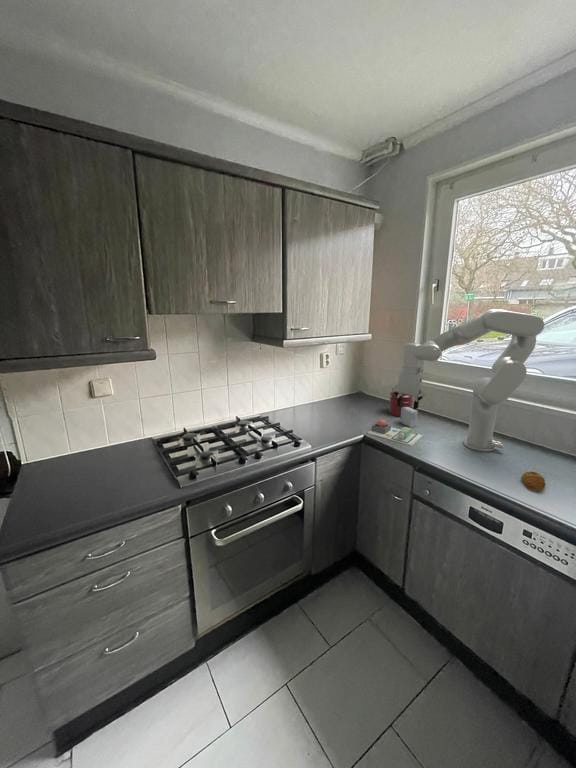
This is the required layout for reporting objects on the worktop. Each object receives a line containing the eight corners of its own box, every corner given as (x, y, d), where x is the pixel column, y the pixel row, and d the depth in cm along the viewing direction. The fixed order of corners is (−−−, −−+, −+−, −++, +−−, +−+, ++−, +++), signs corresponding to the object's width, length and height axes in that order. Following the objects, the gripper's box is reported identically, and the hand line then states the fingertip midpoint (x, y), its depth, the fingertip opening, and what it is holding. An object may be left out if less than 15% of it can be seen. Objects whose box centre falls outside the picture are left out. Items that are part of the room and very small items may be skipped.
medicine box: (416, 426, 167) (418, 411, 164) (410, 427, 165) (411, 412, 163) (406, 421, 174) (407, 406, 172) (399, 422, 172) (401, 407, 170)
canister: (383, 411, 189) (386, 383, 185) (400, 408, 194) (402, 380, 190) (399, 418, 178) (402, 388, 173) (416, 415, 183) (419, 385, 178)
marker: (411, 434, 155) (412, 427, 154) (404, 440, 148) (404, 433, 147) (404, 432, 158) (405, 426, 157) (397, 438, 150) (397, 431, 150)
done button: (387, 426, 160) (387, 420, 159) (383, 428, 157) (384, 422, 156) (379, 423, 163) (379, 418, 162) (375, 426, 160) (375, 420, 159)
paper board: (422, 436, 154) (422, 429, 154) (411, 446, 144) (412, 439, 143) (379, 425, 168) (380, 419, 167) (367, 433, 158) (367, 427, 157)
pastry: (547, 495, 108) (550, 485, 107) (523, 490, 111) (525, 480, 110) (542, 482, 116) (544, 472, 115) (519, 477, 119) (521, 468, 118)
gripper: (433, 371, 142) (429, 409, 146) (395, 366, 153) (392, 401, 157) (427, 374, 136) (423, 413, 141) (389, 369, 147) (386, 405, 152)
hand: (407, 407), depth 149 cm, fingers open, 6 cm apart
